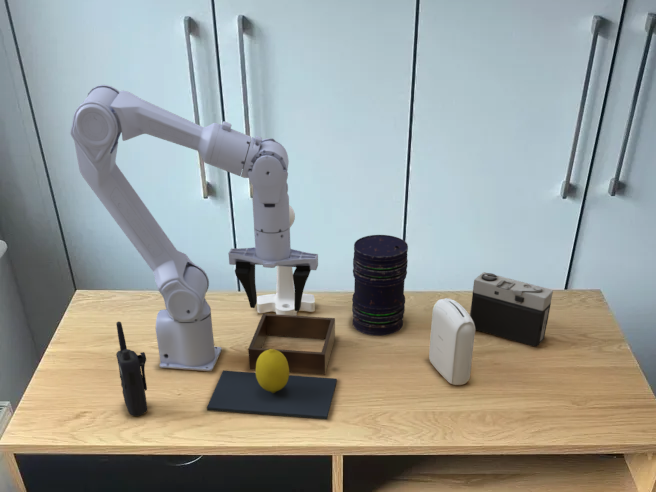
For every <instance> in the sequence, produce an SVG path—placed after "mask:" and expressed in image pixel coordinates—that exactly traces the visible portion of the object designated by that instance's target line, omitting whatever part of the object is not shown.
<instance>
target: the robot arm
mask: <svg viewBox="0 0 656 492" xmlns="http://www.w3.org/2000/svg"><path fill="white" fill-rule="evenodd" d="M69 134H70V136H71V138H72V140H73V143H74V147H75V153H76V159H77V164H78V170H79V174H81V176H82V178H83V179H84V181H85V182H86V183H87V184H88V186H89V188H90V189H91V190H92V191H93V193H94V194H95V196H96V197H97V198H98V200H99V201H100V202H101V204H102V205H103V207H104V208H105V209H106V211H107V212H108V213H109V214H110V216H111V217H112V218H113V220H114V222H116V224H117V225H118V227H119V228H120V229H121V231H122V232H123V233H124V234H125V236H126V237H127V239H128V241H130V243H131V244H132V245H133V247H134V248H135V249H136V251H137V252H138V253H139V255H140V256H141V258H142V259H143V261H144V262H145V263H146V265H148V267H149V269H150V270H151V271H152V273H153V277H154V281H155V285H156V288H157V291H158V293H160V295H161V296H162V298H163V301H164V307H165V308H164V309H159V311H158V312H157V314H156V319H155V335H156V341H157V349H158V355H159V361H160V362H159V368H161V369H174V370H190V371H202V372H203V371H204V372H212V371H213V370H214V368H215V366H216V363H217V361H218V358H219V357H220V356H221V352H222V350H223V349H222V347H221V346H215V340H214V339H215V338H214V328H213V319H212V309H211V306H210V304H209V303H208V301H207V299H206V295H207V292H208V291H209V288H210V287H209V286H210V281H209V277H208V275H207V273H206V271H205V270H204V269H203V268H202V267H200V266H199V265H198V264H195V263H194V262H193V261H192V260H191V259H190V257H189V256H188V255H187V253H184V252H182V251H181V250H178V249H177V248H176V247H175V245H174V244H173V242H172V241H171V240H170V238H169V237H168V235H167V234H166V233H165V231H164V230H163V228H162V227H161V225H160V224H159V223H158V221H157V219H156V218H155V217H154V215H153V214H152V213H151V211H150V210H149V208H148V207H147V206H146V204H145V203H144V201H143V200H142V198H141V197H140V196H139V194H138V193H137V191H136V190H135V189H134V187H133V186H132V185H131V183H130V182H129V180H128V178H126V176H125V175H124V173H123V172H122V169H120V167H119V166H118V165H117V162H116V161H117V159H116V158H117V153H118V146H119V139H120V136H121V139H122V141H123V142H124V141H125V142H126V141H128V140H131V139H133V138H137V137H139V136H141V135H147V136H151V137H155V138H157V139H161V140H163V141H167V142H170V143H173V144H175V145H178V146H182V147H186V148H188V149H192V150H194V151H197V153H198V154H199V156H200V157H201V159H202V161H203V162H204V163H205V164H207V165H209V166H212V167H214V168H217V169H220V170H222V171H225V172H228V173H230V174H234V175H235V176H239V177H241V178H244V179H248V180H249V181H250V183H251V185H252V193H253V195H252V199H251V201H252V212H253V213H252V215H253V216H252V217H253V232H254V247H244V248H233V247H231V248H230V250H229V252H228V264H229V265H231V266H235V268H234V274H235V276H236V278H237V279H238V281H239V282H240V284H241V286H242V288H243V289H244V291H245V294H246V297H247V300H248V303H249V308H251V309H255V308H256V307H257V296H258V294H257V285H256V265H257V266H262V268H266V269H267V268H268V269H274V268H277V266H285V267H292V268H295V269H294V272H293V282H294V293H295V304H294V307H295V311H297V312H300V311H301V310H300V307H301V299H302V294H304V290H305V286H306V283H307V281H308V278H309V276H310V274H311V271H317V269H318V266H319V254H318V253H311V252H306V251H301V250H298V249H294V248H291V249H290V247H291V227H290V216H289V205H290V196H289V194H288V192H289V185H288V177H289V173H288V171H289V162H290V161H289V160H290V159H289V156H288V152H287V150H286V148H285V147H284V146H283V145H282V144H281V142H279V141H277V140H275V139H274V138H272V137H266V138H263V137H261V136H259V135H255V137H253V136H251V135H248V134H245V133H243V132H240V131H238V130H236V129H233V128H232V124H231V123H229V122H228V121H225V120H223V122H222V124H220V123H218V122H212V123H210V124H208V125H206V126H202V125H201V124H197V123H195V122H193V121H192V120H189V119H187V118H185V117H182V116H180V115H178V114H176V113H173V112H171V111H169V110H166V109H165V108H162V107H160V106H158V105H155V104H153V103H151V102H150V101H147V100H144V99H142V98H141V97H139V96H137V95H135V94H134V93H132V92H131V91H128V90H124V89H123V90H122V89H120V90H119V89H117V88H115V87H114V86H112V85H109V84H98V85H96V86H94V87H92V88H91V89H90V91H89V92H88V93H87V96H86V97H85V99H84V100H83V101H82V102H81V103H80V104H79V105H78V106H77V107H76V109H75V111H74V113H73V115H72V122H71V126H70V132H69ZM299 310H300V311H299Z"/></svg>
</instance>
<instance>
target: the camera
mask: <svg viewBox="0 0 656 492" xmlns="http://www.w3.org/2000/svg"><path fill="white" fill-rule="evenodd" d="M472 285H473V286H472V295H471V304H470V311H469V315H470V316H471V318H472V320H473V322H474V325H475V331H477V332H478V331H479V332H482V333H486V334H489V335H492V336H496V337H500V338H502V339H506V340H510V341H514V342H517V343H520V344H524V345H527V346H531V347H534V348H537V347H538V346H539V345H540V344H541V343H542V342H543V341H544V340H545V335H546V331H547V327H548V326H547V325H548V320H549V317H550V316H549V315H550V311H551V305H552V299H553V293H554V290H553V289H551V288H549V287H544V286H539V285H535V284H531V283H528V282H525V281H520V280H516V279H513V278H510V277H509V278H508V277H505V276H501V275H497V274H495V273H492V272H484V271H483V272H481V273H480V274H479V275H478V276H477V277H476V278H474V279H473V284H472Z"/></svg>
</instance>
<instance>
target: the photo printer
mask: <svg viewBox="0 0 656 492" xmlns="http://www.w3.org/2000/svg"><path fill="white" fill-rule="evenodd" d="M431 314H432V315H431V324H430V325H431V326H430V340H429V351H428V358H429V362H430V364H432V366H433V368H434V369H435V370H436V371H437V372H438V373H439V374H440V376H442V377H443V378H444V379H445V380H446V381H447V382H448V383H449V384H450V385H453V386H461V385H465V384H467V383H468V381H470V378H471V374H472V373H471V372H472V362H473V355H474V354H473V353H474V345H475V338H476V337H475V336H476V330H475V325H474V322H473V320H472V318H471V316H470V312H468V311H467V309H466V308H465V307H464V306H463V305H462V304H461V303H459V302H458V301H457V300H454V299H452V298H449V297H445V298H440V299H438V300H437V301H436V302H435V303H434V306H433V307H432V313H431Z"/></svg>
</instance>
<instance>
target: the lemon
mask: <svg viewBox="0 0 656 492" xmlns="http://www.w3.org/2000/svg"><path fill="white" fill-rule="evenodd" d="M268 349H269V350H266V351H264V352H263V353H261V354H260V356H259V357H258V359H257V363H256V370H255V373H256V378H257V381H258V383H259V384H260V386H261V387H262V388H263V389H265V390H267V391H270V392H272V393H275V392H276V391H279V390H281V389H282V388H284V386H285V385H286V384H287V382H288V378H289V375H290V373H289V366H288V362H287V359H286V357H285V356H284V355H283V354H282V353H281V352H279V351H277V350H274V349H275V348H268Z"/></svg>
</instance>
